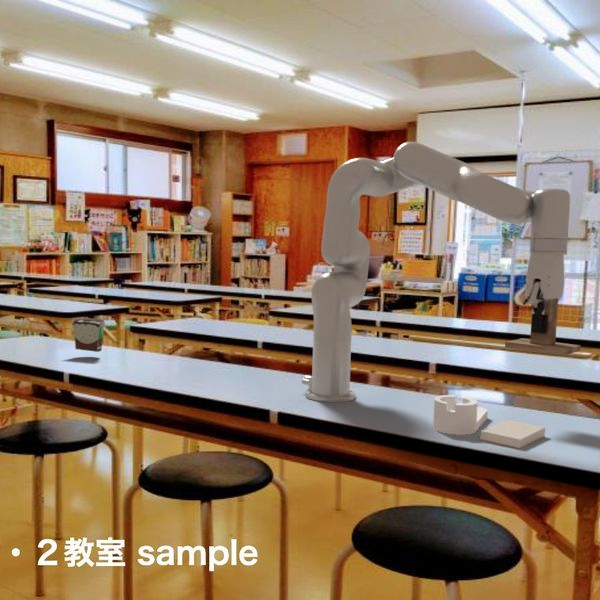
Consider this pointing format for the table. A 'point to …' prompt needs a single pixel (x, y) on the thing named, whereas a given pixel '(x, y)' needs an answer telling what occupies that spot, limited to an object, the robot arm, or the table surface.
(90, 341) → the food container
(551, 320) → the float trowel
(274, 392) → the table surface
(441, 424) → the bracket
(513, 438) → the glazed tile
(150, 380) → the table surface
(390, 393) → the table surface
